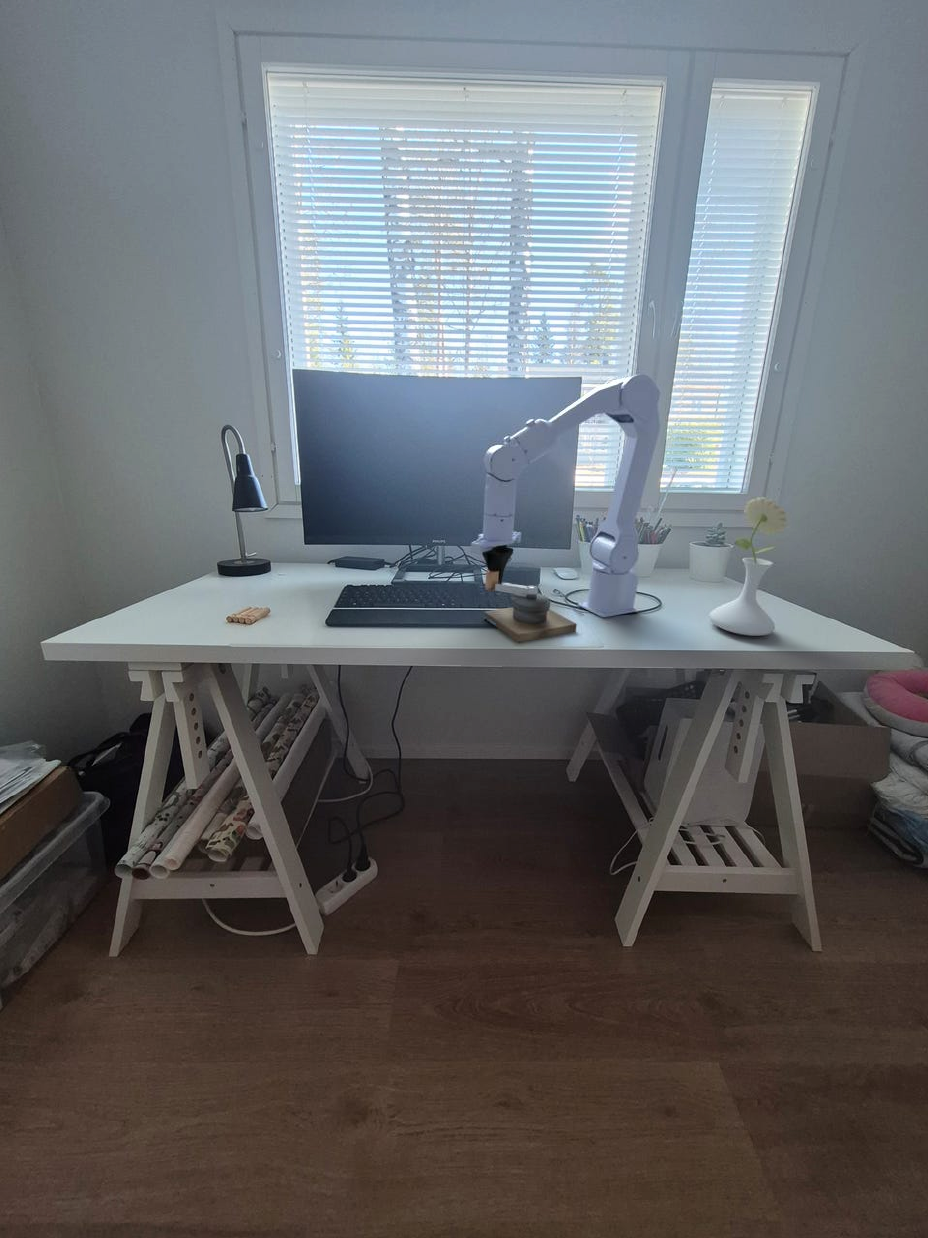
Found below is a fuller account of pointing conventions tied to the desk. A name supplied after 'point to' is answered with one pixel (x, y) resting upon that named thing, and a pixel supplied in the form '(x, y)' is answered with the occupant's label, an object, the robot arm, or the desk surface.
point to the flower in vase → (752, 575)
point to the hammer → (508, 585)
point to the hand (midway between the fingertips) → (494, 583)
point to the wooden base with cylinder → (530, 619)
